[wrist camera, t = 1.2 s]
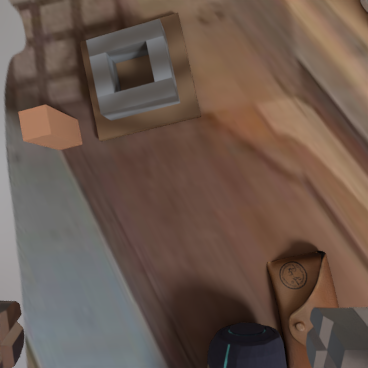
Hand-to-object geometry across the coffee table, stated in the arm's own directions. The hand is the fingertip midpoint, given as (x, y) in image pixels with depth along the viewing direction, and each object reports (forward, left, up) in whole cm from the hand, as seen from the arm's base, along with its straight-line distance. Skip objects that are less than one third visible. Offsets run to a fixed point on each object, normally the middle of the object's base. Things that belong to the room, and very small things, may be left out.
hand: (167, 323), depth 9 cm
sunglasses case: (+9, +17, -39) cm, 44 cm away
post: (-4, -27, -39) cm, 47 cm away
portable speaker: (+23, +13, -39) cm, 47 cm away
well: (-16, -19, -39) cm, 46 cm away
